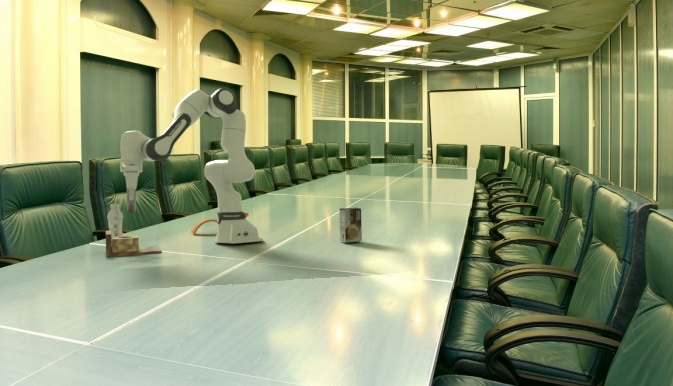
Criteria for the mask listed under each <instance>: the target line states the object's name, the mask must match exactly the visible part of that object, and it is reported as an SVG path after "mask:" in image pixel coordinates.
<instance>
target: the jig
mask: <svg viewBox="0 0 673 386" xmlns="http://www.w3.org/2000/svg"><path fill="white" fill-rule="evenodd" d="M153 254H154V255H155V254H162V249H161V248H160V246H159V245H157V246H156V245H155V246H153V245H152V246H141V247H140V246H139V251H132V252H116V253H112V239H111V231H109V230H106V231H105V257H106V258H109V257H127V256H138V255H139V256H140V255H153Z"/></svg>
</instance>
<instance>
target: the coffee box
mask: <svg viewBox="0 0 673 386" xmlns="http://www.w3.org/2000/svg"><path fill="white" fill-rule="evenodd" d="M362 232H363V231H362V208H361V207H344V208H341V207H340V208H339V242H341V241H342V242H343V243H345V244H346V243H354V242H362V240H363V239H362V238H363V237H362V235H363V234H362Z"/></svg>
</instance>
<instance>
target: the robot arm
mask: <svg viewBox="0 0 673 386" xmlns="http://www.w3.org/2000/svg"><path fill="white" fill-rule="evenodd" d="M238 107H239V106H238V103H237V100H236V96H235V93H234V91H232V90H231V89H229V88H226V87H223V88H218V89H217V90H215V91H214V92H213V93H212V94H211V95H210V94H207V93H206V92H205V91H203V90H201V89H194V90H192V91H191V92H190V93H187V94H186V96H184V97H183V98H182V99H181V100H180V101H179V102H178V103H177V105H176V106H175V107H174V109H173V110H172V112H171V116H172V122H171V124H169V126H168V127H167V128H166V129H165V130H164V131H163V133H162V134H160V135H159V136H156V137H154V138H151V137H148V136H147V135H146V134H143V133H142V132H141V130H129V131H125V132H122V134H121V137H120V147H119V150H120V160H119V162H120V165H119V168H120V169H119V172H120V173H123V176H124V177H125V185H126V190H127V189H129V200H134V189H136V190H137V186H138V180H139V179H138V178H139V177H140V173H143V161H147V162H163V161H166V160H167V159H169V157H170V156H171V154H172V151H173V148H174V146H175V144H176V143H177V142H178V140H179V139H180V137H182V135H183V134H184V133H185V132H186V130H187V129H189V128H190V127H192V126H193V125H194V124H195V123H196V122H197V121H198V120H199V119H200V118H201V116H203V115H206V116H208V117H210V118H212V119H215V120H217V119H221V120H222V130H221V136H220V137H221V138H220V147H221V148H222V150H223V151H224V152H226V153H227V154H228V159H216V160H211V161H209V162H207V163H206V164H205V166H204V169H203V174H204V177H205V179H206V180H207V181H209V183H210V184H211V185H212V187H213V188H214V191H215V193H216V196H217V197H216V198H217V212H216V220H217V222H216V223H217V228H216V236H215V240H214V242H215V243H217V244H218V243H221V244H243V243H255V242H263V241H264V237H262V236H260V234H259V231H258V228H257V226H256V225H254V224H252V222H250V221H249V220H248V219H246V218H248V217H250V216H249V212H245V211H243V208H242V206H243V203H242V201H243V200H242V195H241V193H240V192H239V191H236V190H235V188H234V187H233V183H236V184H237V183H238V184H239V183H245V182H249V181H252V180H253V179H254V177H255V173H256V169H255V165H254V162H252V161H251V160H250V159H249V158H248V156H247V154H246V150H245V149H246V148H245V141H246V132H247V131H246V130H247V129H246V128H247V127H246V126H247V121H246V114H245V113H244V112H243V111H241V110H240V109H238Z"/></svg>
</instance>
